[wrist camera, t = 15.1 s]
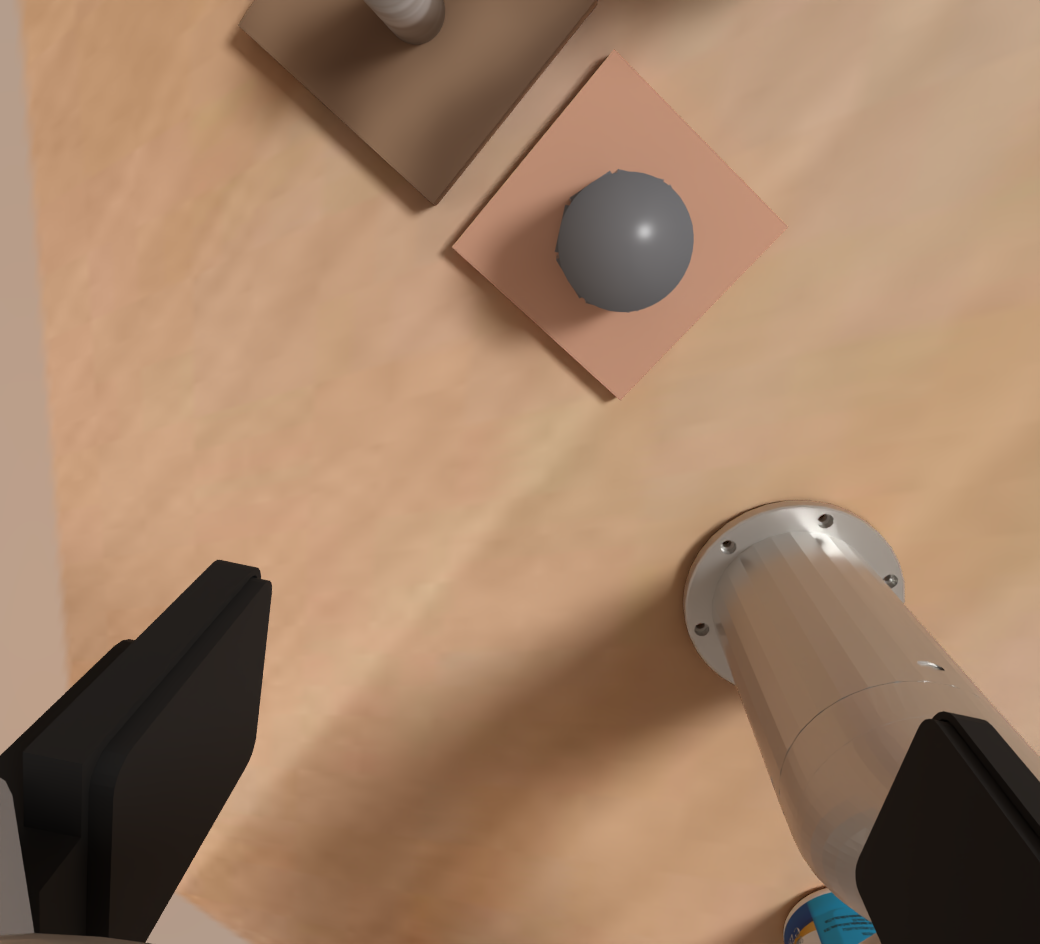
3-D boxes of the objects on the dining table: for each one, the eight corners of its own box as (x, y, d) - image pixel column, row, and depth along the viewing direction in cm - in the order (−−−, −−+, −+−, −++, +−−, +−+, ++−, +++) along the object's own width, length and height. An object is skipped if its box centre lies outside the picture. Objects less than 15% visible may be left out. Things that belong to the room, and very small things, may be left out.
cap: (658, 311, 39) (672, 325, 35) (546, 286, 39) (544, 295, 34) (691, 192, 37) (710, 188, 33) (574, 164, 37) (575, 157, 33)
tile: (782, 226, 39) (788, 226, 38) (618, 396, 42) (620, 400, 41) (613, 53, 36) (614, 49, 36) (454, 246, 40) (451, 247, 39)
